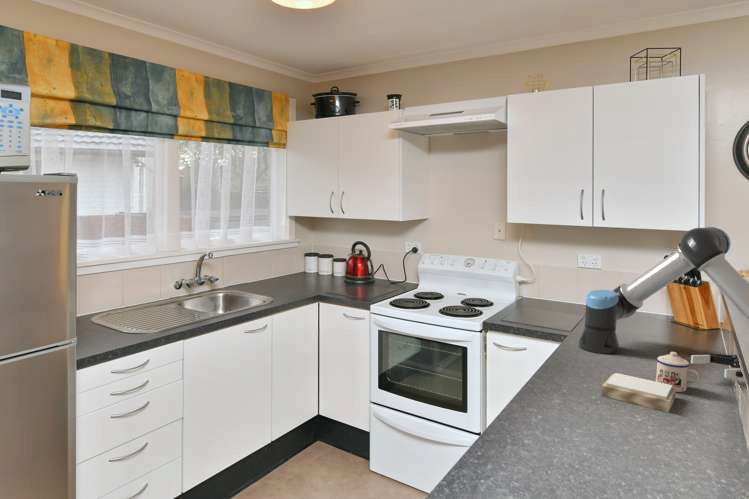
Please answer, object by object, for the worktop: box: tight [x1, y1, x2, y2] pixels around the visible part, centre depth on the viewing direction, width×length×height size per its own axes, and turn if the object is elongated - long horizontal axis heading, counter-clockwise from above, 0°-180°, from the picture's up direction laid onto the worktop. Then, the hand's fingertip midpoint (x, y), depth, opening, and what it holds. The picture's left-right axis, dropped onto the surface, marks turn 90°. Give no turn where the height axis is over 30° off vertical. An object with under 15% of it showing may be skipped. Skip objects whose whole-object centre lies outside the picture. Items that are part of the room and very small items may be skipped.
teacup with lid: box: [655, 351, 700, 393], centre depth 159 cm, size 12×9×12 cm
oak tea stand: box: [600, 372, 677, 413], centre depth 152 cm, size 18×14×4 cm
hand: (707, 366), depth 161 cm, fingers open, 13 cm apart
